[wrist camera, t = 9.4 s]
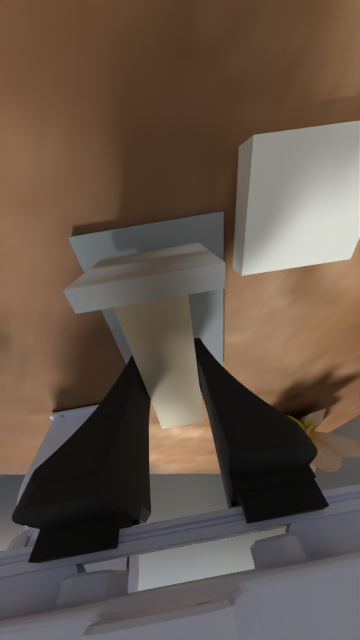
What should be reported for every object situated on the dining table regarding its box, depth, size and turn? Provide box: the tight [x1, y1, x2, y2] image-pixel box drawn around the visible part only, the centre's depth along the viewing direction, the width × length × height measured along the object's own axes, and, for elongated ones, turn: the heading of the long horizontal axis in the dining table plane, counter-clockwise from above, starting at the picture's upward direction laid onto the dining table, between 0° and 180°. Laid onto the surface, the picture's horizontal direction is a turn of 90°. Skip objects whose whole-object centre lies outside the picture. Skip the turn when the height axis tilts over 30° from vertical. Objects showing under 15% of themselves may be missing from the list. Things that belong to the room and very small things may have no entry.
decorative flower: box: [286, 409, 360, 473], centre depth 25 cm, size 15×11×10 cm
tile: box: [233, 120, 360, 275], centre depth 11 cm, size 8×2×7 cm
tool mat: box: [68, 211, 224, 366], centre depth 15 cm, size 10×15×1 cm, turn 8°
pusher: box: [63, 243, 225, 429], centre depth 11 cm, size 6×11×5 cm, turn 8°
